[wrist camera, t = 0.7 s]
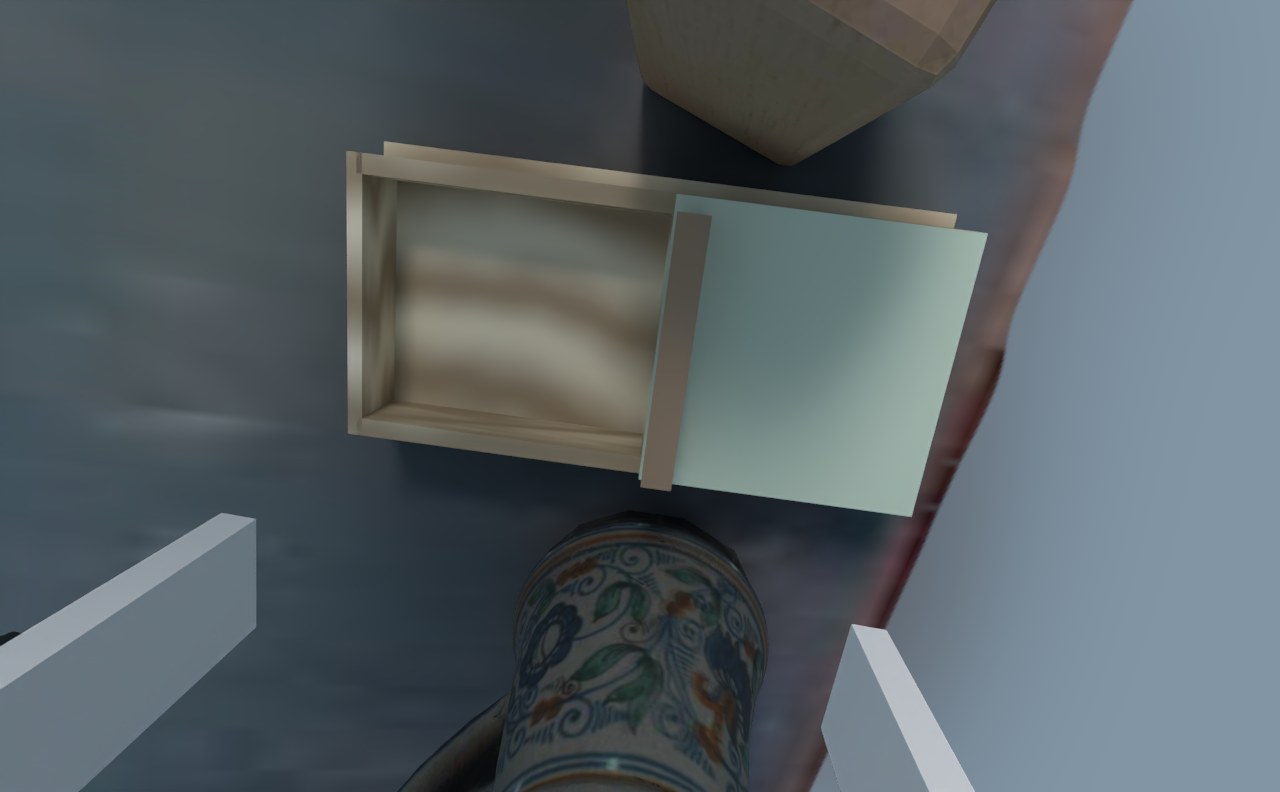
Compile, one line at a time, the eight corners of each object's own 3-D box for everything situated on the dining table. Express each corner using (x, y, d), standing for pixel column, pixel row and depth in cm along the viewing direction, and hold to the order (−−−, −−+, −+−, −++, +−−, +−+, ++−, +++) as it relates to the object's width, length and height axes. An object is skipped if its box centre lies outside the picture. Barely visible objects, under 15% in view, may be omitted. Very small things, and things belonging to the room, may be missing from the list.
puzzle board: (391, 143, 34) (346, 129, 30) (949, 215, 34) (995, 211, 29) (388, 423, 39) (348, 450, 34) (880, 490, 38) (909, 527, 34)
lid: (676, 194, 29) (677, 188, 26) (979, 233, 29) (1023, 233, 25) (639, 473, 33) (635, 503, 30) (905, 510, 33) (935, 544, 29)
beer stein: (809, 628, 41) (1002, 1182, 17) (601, 767, 45) (519, 1374, 21) (653, 455, 39) (620, 823, 14) (446, 619, 43) (151, 1121, 19)
